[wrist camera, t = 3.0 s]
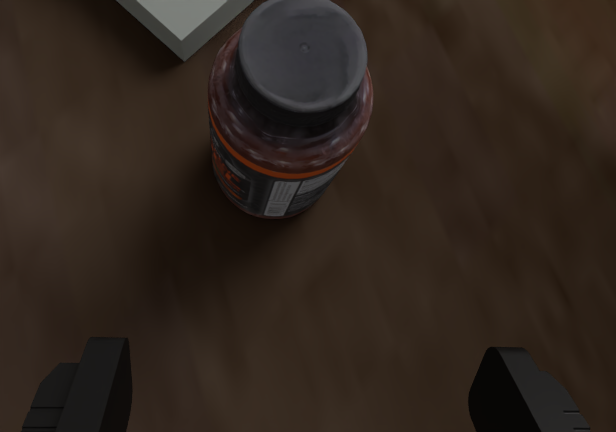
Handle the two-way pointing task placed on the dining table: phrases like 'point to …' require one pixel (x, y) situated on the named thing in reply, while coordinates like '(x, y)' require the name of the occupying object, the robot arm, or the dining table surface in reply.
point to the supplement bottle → (287, 105)
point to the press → (184, 20)
